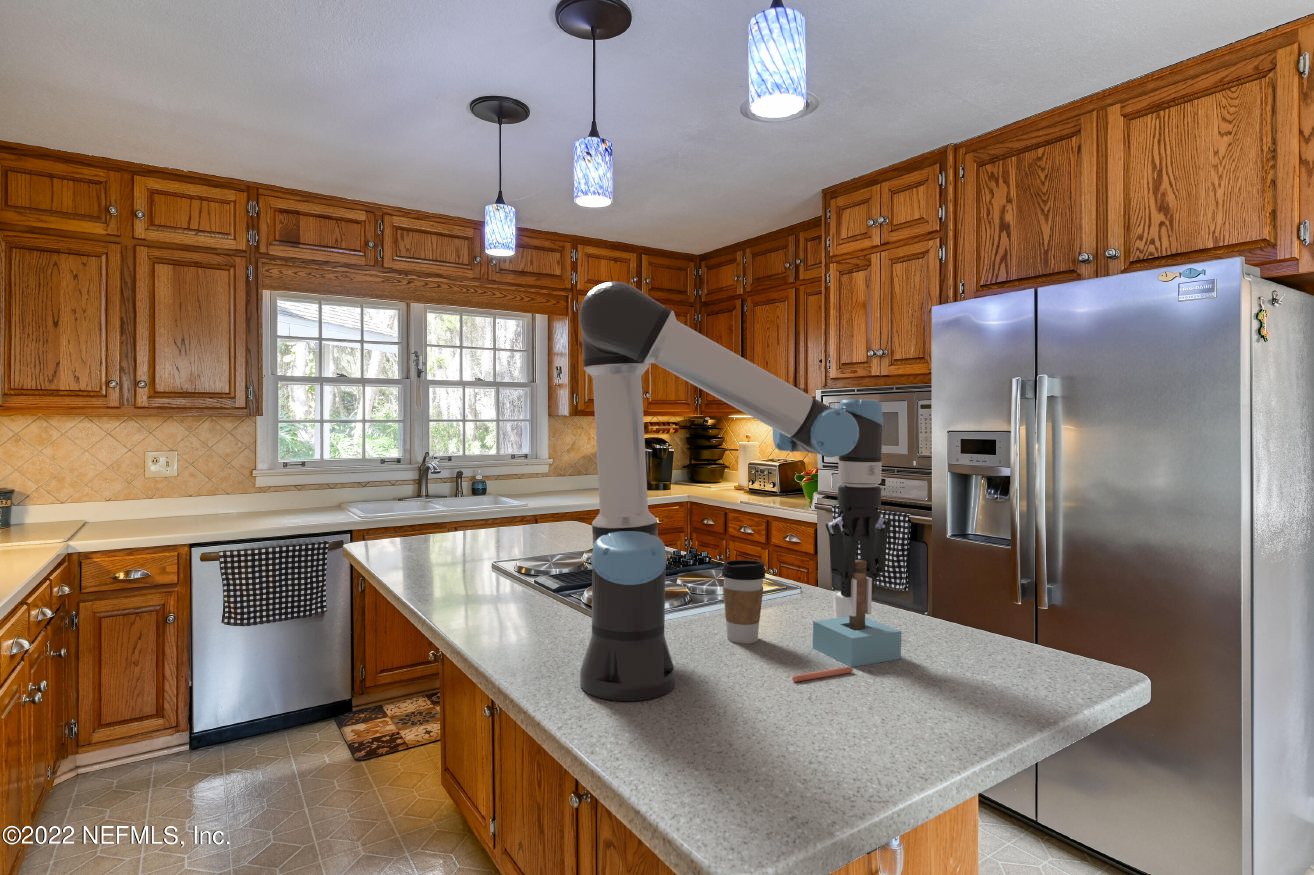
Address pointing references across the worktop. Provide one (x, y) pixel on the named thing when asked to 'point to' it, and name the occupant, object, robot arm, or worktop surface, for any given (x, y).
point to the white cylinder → (838, 605)
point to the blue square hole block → (856, 641)
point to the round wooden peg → (859, 596)
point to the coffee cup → (743, 599)
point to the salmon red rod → (822, 674)
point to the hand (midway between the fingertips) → (857, 613)
